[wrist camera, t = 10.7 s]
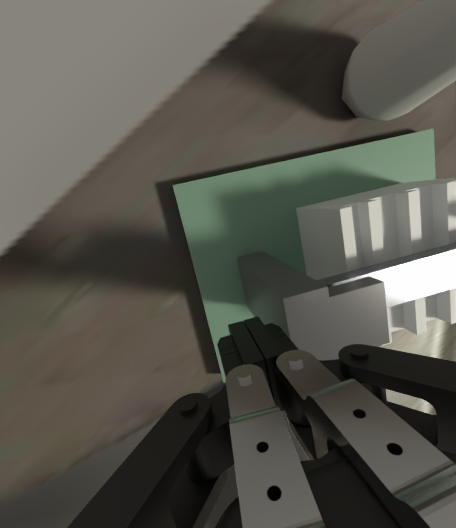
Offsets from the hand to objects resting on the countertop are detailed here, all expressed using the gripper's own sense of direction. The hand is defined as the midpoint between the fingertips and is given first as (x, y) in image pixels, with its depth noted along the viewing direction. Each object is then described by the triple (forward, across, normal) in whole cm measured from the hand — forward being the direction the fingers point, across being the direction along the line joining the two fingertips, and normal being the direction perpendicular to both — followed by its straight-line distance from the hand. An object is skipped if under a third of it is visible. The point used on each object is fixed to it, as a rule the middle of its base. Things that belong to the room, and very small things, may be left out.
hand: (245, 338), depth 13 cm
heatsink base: (+10, -9, 0) cm, 13 cm away
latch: (+8, -4, 0) cm, 9 cm away
